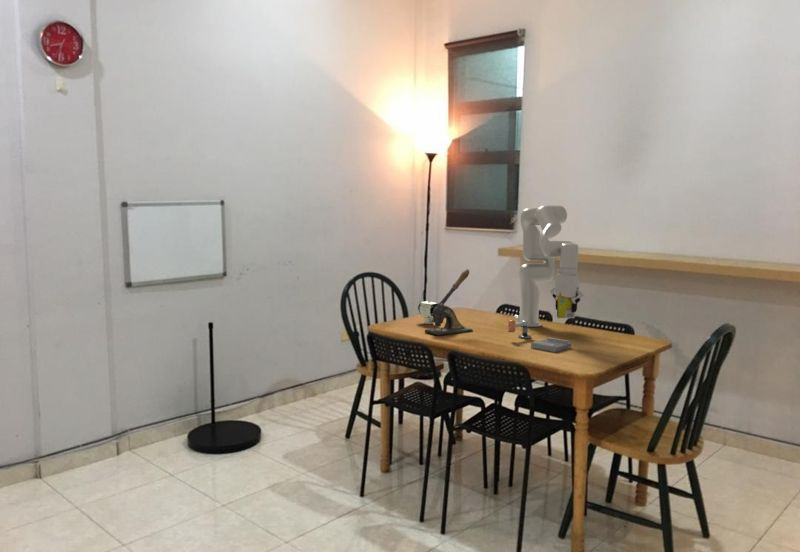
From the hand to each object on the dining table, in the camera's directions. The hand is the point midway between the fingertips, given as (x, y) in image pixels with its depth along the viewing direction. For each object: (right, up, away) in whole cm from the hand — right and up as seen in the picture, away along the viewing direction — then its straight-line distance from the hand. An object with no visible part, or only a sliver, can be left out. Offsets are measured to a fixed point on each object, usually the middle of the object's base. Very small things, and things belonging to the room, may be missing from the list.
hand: (565, 310), depth 292 cm
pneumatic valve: (-59, -9, +44) cm, 75 cm away
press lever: (-19, -9, +9) cm, 23 cm away
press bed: (-8, -16, -8) cm, 19 cm away
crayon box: (0, -4, 0) cm, 3 cm away
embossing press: (-50, -12, +24) cm, 57 cm away
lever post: (-16, -13, +13) cm, 25 cm away
